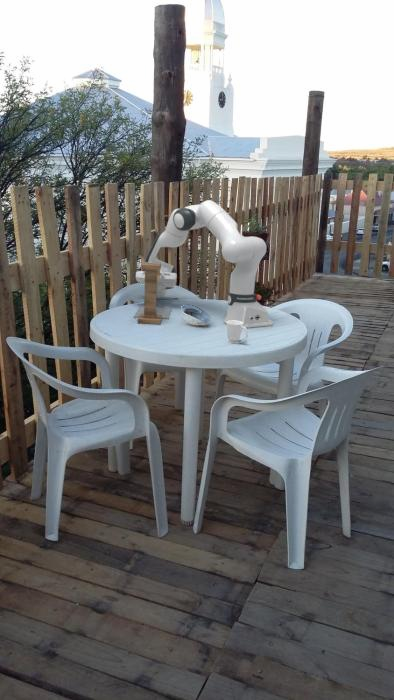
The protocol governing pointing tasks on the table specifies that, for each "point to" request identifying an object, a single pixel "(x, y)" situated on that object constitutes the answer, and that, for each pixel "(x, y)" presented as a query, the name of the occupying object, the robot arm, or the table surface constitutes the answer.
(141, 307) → the rubber mat
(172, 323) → the table surface
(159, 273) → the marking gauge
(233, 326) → the cup
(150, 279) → the walnut stand
